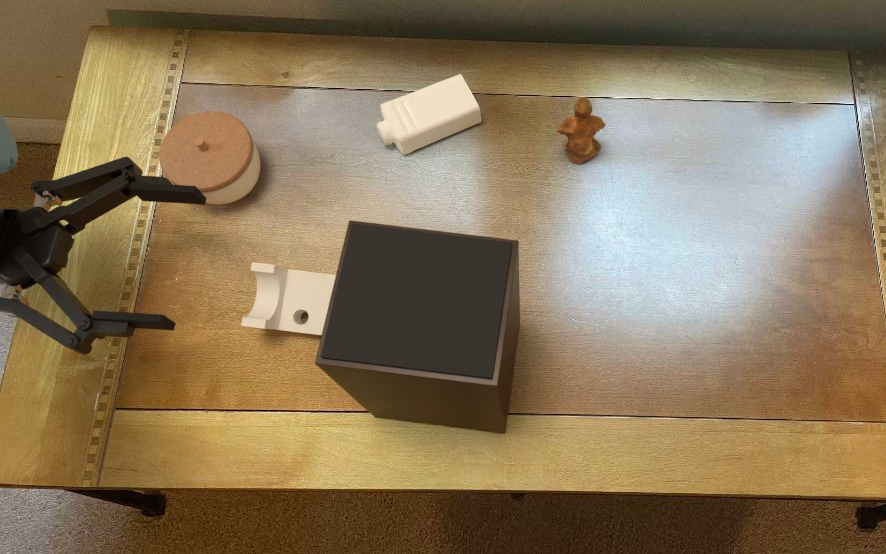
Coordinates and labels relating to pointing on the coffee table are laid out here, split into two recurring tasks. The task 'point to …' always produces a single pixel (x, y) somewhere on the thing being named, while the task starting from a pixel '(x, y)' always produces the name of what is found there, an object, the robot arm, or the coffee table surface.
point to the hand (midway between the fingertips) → (185, 256)
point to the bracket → (289, 299)
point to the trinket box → (211, 156)
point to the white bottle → (428, 114)
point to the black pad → (419, 301)
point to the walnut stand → (431, 391)
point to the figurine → (581, 132)
